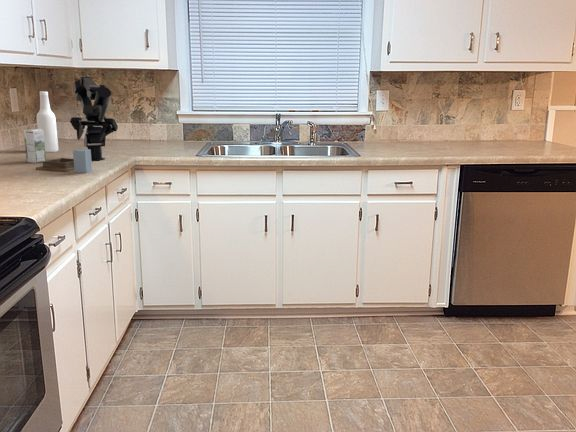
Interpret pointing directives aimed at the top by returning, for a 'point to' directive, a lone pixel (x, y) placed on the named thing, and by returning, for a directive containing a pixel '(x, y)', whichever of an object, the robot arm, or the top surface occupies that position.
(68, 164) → the cradle
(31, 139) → the syrup box
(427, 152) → the top surface
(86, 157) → the block
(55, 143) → the alcohol
